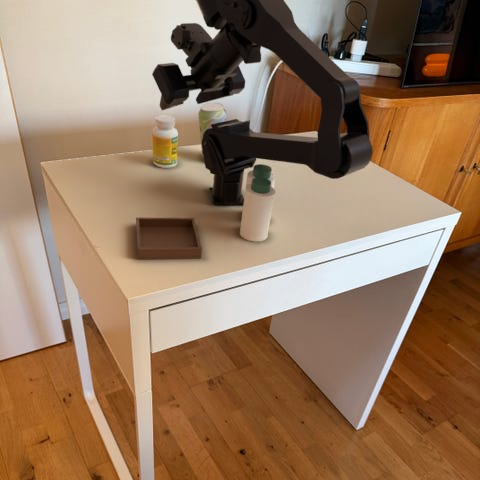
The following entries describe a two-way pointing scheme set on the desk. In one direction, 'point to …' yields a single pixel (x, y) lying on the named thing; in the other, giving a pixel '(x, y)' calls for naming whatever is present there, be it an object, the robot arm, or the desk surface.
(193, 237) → the tray
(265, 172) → the white bottle
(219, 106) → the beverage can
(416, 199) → the desk surface
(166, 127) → the supplement bottle
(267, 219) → the white bottle
